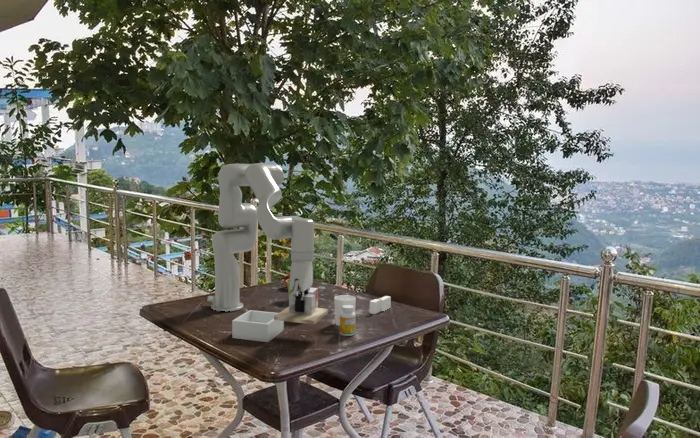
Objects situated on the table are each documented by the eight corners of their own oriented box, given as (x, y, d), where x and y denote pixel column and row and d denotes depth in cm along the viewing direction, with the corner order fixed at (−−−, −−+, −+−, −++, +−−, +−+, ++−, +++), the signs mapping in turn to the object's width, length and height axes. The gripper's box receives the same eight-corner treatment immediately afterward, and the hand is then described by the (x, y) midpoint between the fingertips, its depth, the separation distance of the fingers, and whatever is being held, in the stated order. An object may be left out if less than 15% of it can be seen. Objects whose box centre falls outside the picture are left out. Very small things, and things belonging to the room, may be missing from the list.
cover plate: (274, 320, 166) (274, 298, 165) (290, 308, 179) (290, 288, 179) (314, 324, 162) (314, 302, 161) (328, 312, 176) (328, 291, 175)
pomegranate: (307, 287, 245) (308, 267, 244) (300, 291, 236) (301, 271, 235) (288, 285, 247) (288, 266, 247) (280, 289, 238) (281, 270, 237)
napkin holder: (389, 306, 214) (389, 293, 214) (401, 314, 204) (401, 300, 203) (356, 309, 209) (356, 295, 209) (366, 317, 199) (367, 303, 198)
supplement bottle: (339, 331, 180) (339, 304, 179) (354, 331, 180) (355, 304, 179) (340, 336, 175) (340, 308, 174) (355, 336, 175) (356, 308, 174)
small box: (312, 319, 193) (313, 292, 192) (298, 318, 194) (298, 291, 193) (318, 313, 201) (318, 287, 200) (304, 312, 202) (304, 286, 201)
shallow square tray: (232, 337, 171) (232, 320, 171) (250, 326, 184) (250, 310, 183) (267, 342, 168) (267, 324, 167) (283, 330, 180) (283, 313, 180)
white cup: (339, 328, 183) (340, 301, 182) (330, 322, 190) (330, 296, 189) (359, 325, 187) (359, 299, 185) (349, 319, 193) (349, 294, 192)
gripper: (301, 251, 177) (300, 302, 179) (282, 259, 162) (281, 315, 164) (321, 252, 175) (320, 304, 177) (304, 261, 160) (303, 318, 162)
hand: (302, 309), depth 171 cm, fingers closed on cover plate, 3 cm apart
